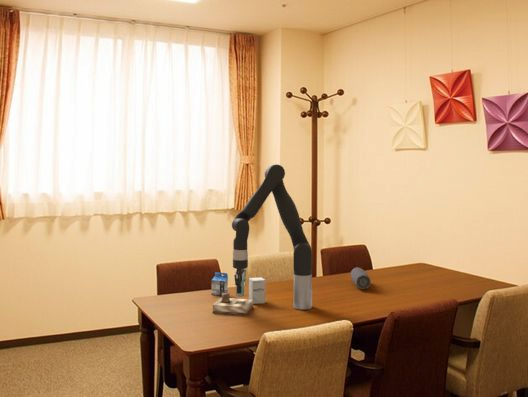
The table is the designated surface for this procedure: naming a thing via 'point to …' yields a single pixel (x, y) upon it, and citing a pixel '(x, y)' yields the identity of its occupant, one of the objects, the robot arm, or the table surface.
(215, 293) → the label tape box
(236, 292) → the teal pin
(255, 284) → the supplement box
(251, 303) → the peg board
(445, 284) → the table surface
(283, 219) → the robot arm
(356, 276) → the bluetooth speaker
